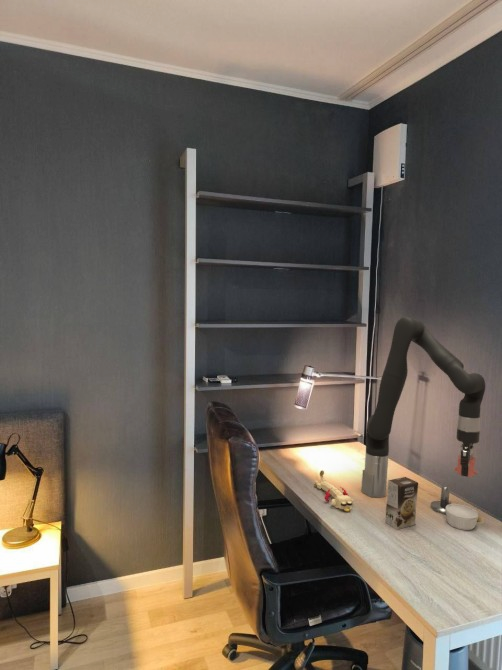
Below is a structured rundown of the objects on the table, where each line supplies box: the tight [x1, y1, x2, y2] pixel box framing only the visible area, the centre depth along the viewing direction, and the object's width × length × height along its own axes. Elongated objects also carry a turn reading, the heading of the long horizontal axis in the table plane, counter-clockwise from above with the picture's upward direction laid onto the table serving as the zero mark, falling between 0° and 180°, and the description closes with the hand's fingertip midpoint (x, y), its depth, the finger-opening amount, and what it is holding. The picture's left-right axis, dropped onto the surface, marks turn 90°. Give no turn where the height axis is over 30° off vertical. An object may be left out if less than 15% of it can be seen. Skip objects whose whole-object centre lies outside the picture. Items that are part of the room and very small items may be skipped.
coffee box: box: [384, 476, 419, 530], centre depth 169 cm, size 9×6×16 cm
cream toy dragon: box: [313, 470, 355, 512], centre depth 188 cm, size 10×9×25 cm
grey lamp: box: [430, 484, 453, 515], centre depth 182 cm, size 10×10×9 cm
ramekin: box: [445, 503, 479, 531], centre depth 171 cm, size 11×11×5 cm
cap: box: [454, 454, 478, 478], centre depth 170 cm, size 8×6×6 cm
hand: (465, 472), depth 170 cm, fingers closed on cap, 5 cm apart
